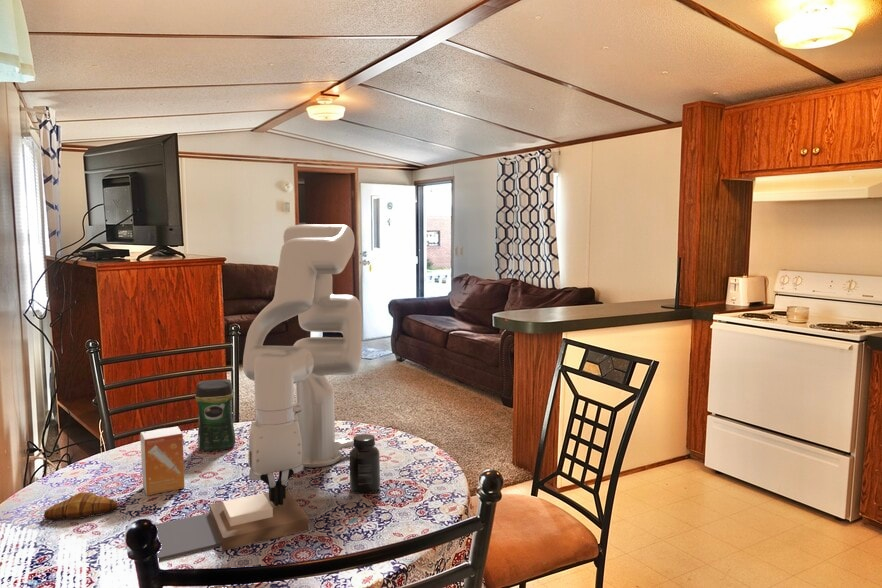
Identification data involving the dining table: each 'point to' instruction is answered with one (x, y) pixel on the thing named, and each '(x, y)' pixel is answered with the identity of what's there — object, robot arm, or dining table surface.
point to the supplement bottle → (364, 465)
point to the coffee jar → (215, 415)
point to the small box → (162, 460)
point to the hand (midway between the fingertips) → (277, 502)
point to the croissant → (81, 507)
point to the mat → (187, 536)
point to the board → (260, 524)
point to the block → (247, 509)
